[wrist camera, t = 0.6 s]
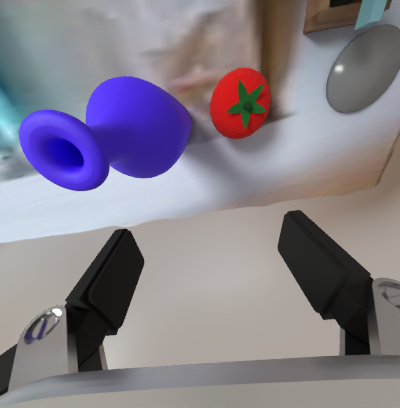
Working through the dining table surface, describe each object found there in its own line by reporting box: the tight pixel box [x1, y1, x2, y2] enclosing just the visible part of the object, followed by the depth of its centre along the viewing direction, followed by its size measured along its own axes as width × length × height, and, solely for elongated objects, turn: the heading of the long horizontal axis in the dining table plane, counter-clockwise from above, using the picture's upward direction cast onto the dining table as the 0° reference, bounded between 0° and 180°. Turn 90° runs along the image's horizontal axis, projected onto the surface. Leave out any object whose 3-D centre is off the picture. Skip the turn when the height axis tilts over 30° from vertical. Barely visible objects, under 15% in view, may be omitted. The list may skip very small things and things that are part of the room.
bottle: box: [19, 76, 191, 191], centre depth 18 cm, size 8×8×30 cm
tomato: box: [210, 68, 271, 139], centre depth 26 cm, size 10×10×10 cm
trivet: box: [326, 25, 400, 112], centre depth 27 cm, size 12×12×1 cm
